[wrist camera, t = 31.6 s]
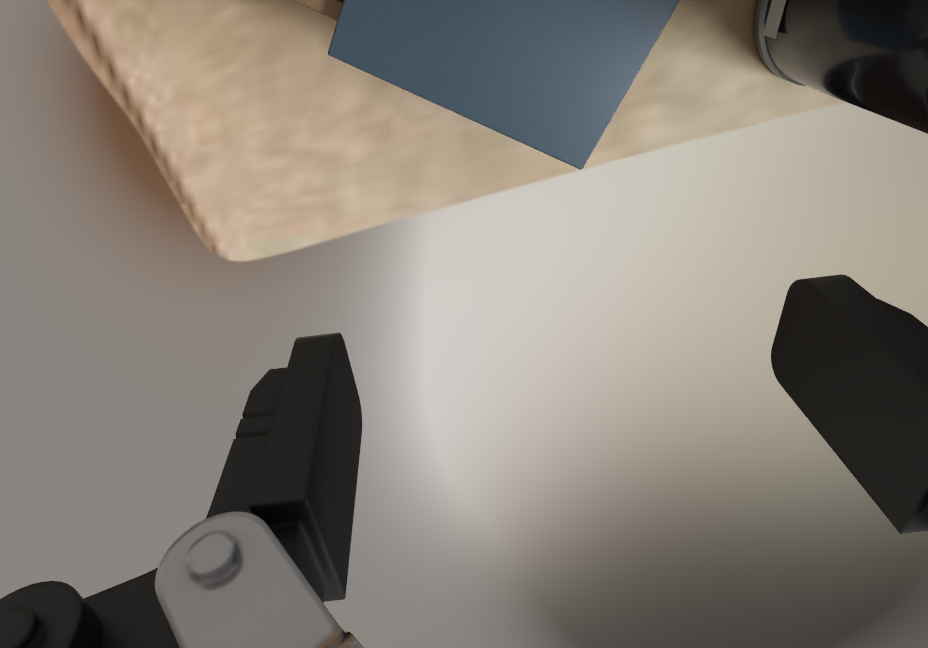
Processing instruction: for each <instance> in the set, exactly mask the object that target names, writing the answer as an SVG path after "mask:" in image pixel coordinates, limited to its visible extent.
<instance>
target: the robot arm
mask: <svg viewBox="0 0 928 648" xmlns="http://www.w3.org/2000/svg"><path fill="white" fill-rule="evenodd" d="M754 33H755V41H756V46H757V49H758V52H759V54H760V56H761V59H762V60H763V62H764V63H765V65H766V66H767V67H768V68H769V69H770V70H771V71H772V72H773V73H774V74H776V75H777V76H779V77H781V78H783V79H785V80H787V81H790V82H792V83H795V84H798V85H803V86H808V87H810V88H813V89H815V90H818V91H820V92H822V93H825V94H827V95H830V96H832V97H835V98H838V99H840V100H843V101H845V102H848V103H850V104H853V105H856V106H858V107H861V108H863V109H866V110H868V111H871V112H874V113H876V114H879V115H881V116H884V117H886V118H889V119H892V120H895V121H897V122H900V123H902V124H904V125H907V126H910V127H912V128H915V129H917V130H920V131H922V132H925V133H928V0H758V2H757V6H756V12H755V20H754ZM771 362H772V368H773V371H774V374H775V376H776V378H777V380H778V382H779V383H780V384H781V386H782V387H783V388H784V390H785V391H786V392H787V393H788V395H789V396H790V397H791V398H792V399H793V401H794V402H795V403H796V405H797V406H798V407H799V408H800V409H801V411H802V412H803V413H804V415H805V416H806V417H807V418H808V419H809V420H810V422H811V423H812V424H813V426H814V427H815V428H816V429H817V431H818V432H819V433H820V434H821V436H822V437H823V438H824V439H825V441H826V442H827V443H828V444H829V446H830V447H831V448H832V449H833V451H834V452H835V453H836V454H837V455H838V457H839V458H840V459H841V460H842V462H843V463H844V464H845V465H846V467H847V468H848V469H849V471H850V472H851V473H852V474H853V476H854V477H855V478H856V479H857V480H858V482H859V483H860V484H861V485H862V487H863V488H864V489H865V490H866V492H867V493H868V494H869V495H870V497H871V498H872V499H873V500H874V502H875V503H876V504H877V505H878V507H879V508H880V509H881V510H882V512H883V513H884V514H885V515H886V517H887V518H888V519H889V520H890V522H891V523H892V524H893V525H894V527H895V528H896V529H897V530H898V531H899V533H900V534H903V533H911V532H919V531H928V327H927V326H926V325H924V324H923V323H922V322H921V321H919V320H918V319H917V318H915V317H914V316H913V315H912V314H910V313H908V312H905V311H903V310H901V309H899V308H897V307H894V306H892V305H890V304H888V303H886V302H883V301H881V300H879V299H876V298H875V297H874V296H872V295H871V294H870V293H869V292H867V291H866V290H865V289H864V288H863V287H861V286H860V285H859V284H857V283H856V282H855V281H854V280H853V279H851V278H850V277H848V276H846V275H834V276H825V277H817V278H809V279H800V280H796V281H795V282H793V283H792V285H791V286H790V288H789V290H788V292H787V296H786V300H785V303H784V307H783V310H782V314H781V317H780V321H779V325H778V328H777V332H776V335H775V339H774V343H773V346H772V351H771ZM361 435H362V414H361V405H360V399H359V395H358V391H357V387H356V384H355V380H354V376H353V373H352V369H351V365H350V361H349V358H348V354H347V350H346V347H345V343H344V340H343V337H342V335H341V334H340V333H332V334H325V335H316V336H308V337H299V338H297V339H296V340H295V343H294V346H293V350H292V353H291V357H290V360H289V364H288V367H287V368H279V369H270V370H269V371H268V372H267V373H266V374H265V375H264V377H263V378H262V379H261V380H260V381H259V382H258V383H257V384H256V386H255V387H254V388H253V389H252V390H251V391H250V394H249V397H248V400H247V403H246V406H245V409H244V411H243V419H241V420H240V423H239V426H238V429H237V432H236V439H234V441H233V443H232V446H231V449H230V452H229V455H228V458H227V460H226V463H225V466H224V469H223V472H222V475H221V478H220V480H219V483H218V486H217V489H216V492H215V495H214V498H213V501H212V503H211V506H210V509H209V512H208V515H207V517H206V519H205V520H203V521H201V522H199V523H197V524H196V525H194V526H193V527H191V528H190V529H188V530H187V531H186V532H184V533H183V534H182V535H181V536H180V537H179V538H178V539H177V540H176V541H175V542H174V543H173V544H172V545H171V547H170V548H169V549H168V551H167V552H166V553H165V555H164V557H163V559H162V560H161V562H160V564H159V567H158V568H156V569H155V570H152V571H150V572H148V573H146V574H144V575H141V576H139V577H137V578H134V579H132V580H129V581H126V582H124V583H122V584H119V585H117V586H114V587H112V588H109V589H107V590H104V591H102V592H99V593H97V594H94V595H92V596H89V597H87V598H84V599H83V598H82V597H81V596H80V594H79V593H78V592H77V591H76V590H75V589H74V588H73V587H72V586H70V585H68V584H66V583H63V582H57V581H48V582H40V583H36V584H32V585H29V586H26V587H24V588H21V589H18V590H16V591H15V592H12V593H10V594H8V595H7V596H5V597H3V598H2V599H0V648H364V647H363V646H362V645H361V644H360V642H359V641H358V640H357V639H356V638H355V637H354V636H353V635H352V634H351V633H350V632H347V633H345V632H344V631H343V630H342V628H341V627H340V626H339V625H338V623H337V622H336V621H335V619H334V618H333V616H332V615H331V613H330V612H329V611H328V609H327V608H326V607H325V605H324V604H323V602H325V601H333V600H342V599H345V595H346V585H347V575H348V565H349V554H350V545H351V535H352V525H353V515H354V505H355V504H354V503H355V495H356V485H357V475H358V465H359V455H360V445H361Z"/></svg>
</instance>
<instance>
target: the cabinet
mask: <svg viewBox="0 0 928 648" xmlns="http://www.w3.org/2000/svg"><path fill="white" fill-rule="evenodd" d="M679 1H680V0H344V1H343V4H342V8H341V11H340V14H339V18H338V21H337V24H336V27H335V31H334V34H333V37H332V41H331V44H330V47H329V51H328V55H330V56H332V57H334V58H336V59H339V60H341V61H343V62H345V63H347V64H350V65H352V66H354V67H356V68H358V69H361V70H363V71H365V72H367V73H369V74H372V75H374V76H376V77H378V78H380V79H383V80H385V81H387V82H389V83H391V84H394V85H396V86H398V87H400V88H402V89H405V90H407V91H409V92H411V93H413V94H416V95H418V96H420V97H422V98H424V99H427V100H429V101H431V102H433V103H435V104H438V105H440V106H442V107H444V108H446V109H449V110H451V111H453V112H455V113H457V114H460V115H462V116H464V117H466V118H468V119H471V120H473V121H475V122H477V123H479V124H482V125H484V126H486V127H488V128H490V129H493V130H495V131H497V132H499V133H501V134H504V135H506V136H508V137H510V138H512V139H515V140H517V141H519V142H521V143H523V144H526V145H528V146H530V147H532V148H534V149H537V150H539V151H541V152H543V153H545V154H548V155H550V156H552V157H554V158H556V159H559V160H561V161H563V162H565V163H567V164H569V165H572V166H574V167H576V168H578V169H582V168H583V167H584V165H585V163H586V162H587V160H588V158H589V156H590V155H591V153H592V151H593V149H594V148H595V146H596V144H597V143H598V141H599V139H600V137H601V136H602V134H603V132H604V130H605V129H606V127H607V125H608V123H609V122H610V120H611V118H612V117H613V115H614V113H615V111H616V110H617V108H618V106H619V104H620V103H621V101H622V99H623V98H624V96H625V94H626V92H627V91H628V89H629V87H630V85H631V84H632V82H633V80H634V78H635V77H636V75H637V73H638V72H639V70H640V68H641V66H642V65H643V63H644V61H645V59H646V58H647V56H648V54H649V53H650V51H651V49H652V47H653V46H654V44H655V42H656V40H657V39H658V37H659V35H660V34H661V32H662V30H663V28H664V27H665V25H666V23H667V21H668V20H669V18H670V16H671V14H672V13H673V11H674V9H675V8H676V6H677V4H678V2H679Z"/></svg>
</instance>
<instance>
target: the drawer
mask: <svg viewBox="0 0 928 648" xmlns="http://www.w3.org/2000/svg"><path fill="white" fill-rule="evenodd" d="M294 1H297V2H299V3H301V4H303V5H305V6H307V7H309V8H311V9H313V10H315V11H318V12H320V13H322V14H324V15H326V16H328V17H330V18H332V19H334V20H337V21H338V18H339V14H340V11H341V8H342V4H343V1H344V0H294Z"/></svg>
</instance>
